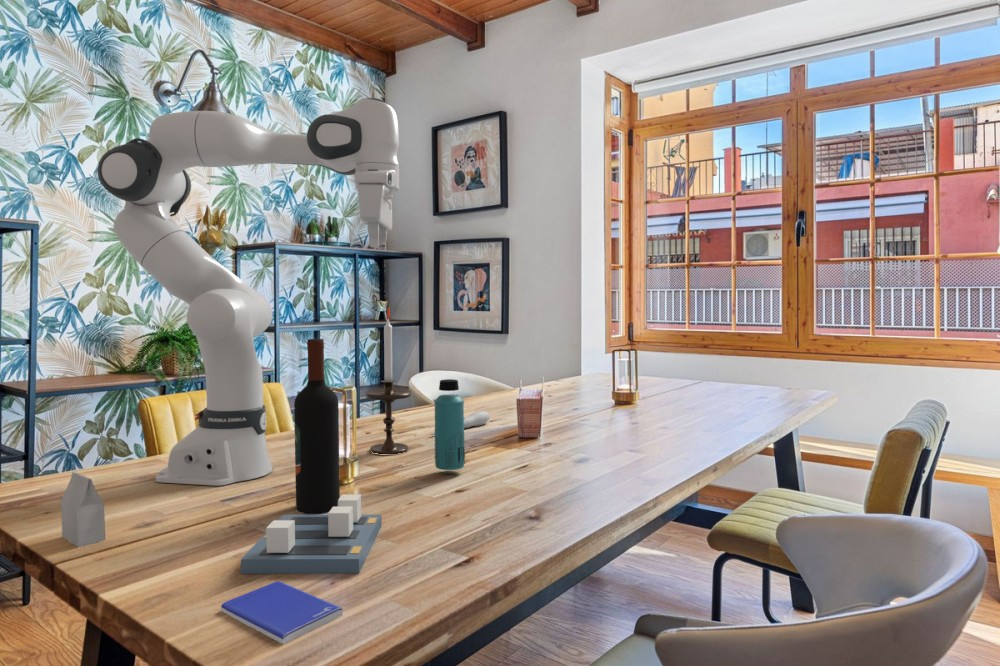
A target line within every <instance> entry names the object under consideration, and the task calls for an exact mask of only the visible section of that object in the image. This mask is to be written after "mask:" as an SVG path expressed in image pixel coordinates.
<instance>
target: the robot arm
mask: <svg viewBox="0 0 1000 666" xmlns="http://www.w3.org/2000/svg"><path fill="white" fill-rule="evenodd" d="M148 131H149V132H148V139H147V140H146V139H144V138H143V139H142V138H141V137H137V138H133V139H131V140H129V141H128V142H126V143H124V144H120V145H118V146H117V145H116V146H115V147H113V148H110V149H108V150H107V151H106V152H105V153H104V154H103V155H102V156H100V157H101V158H100V159H99V160H98V164H97V169H96V170H97V171H96V172H97V176H98V179H99V182H100V184H101V185H102V186H103V188H104V189H105V190H106V191H107V192H108V193H110V194H111V195H113V196H114V197H115V198H117V199H119V200H122V201H124V202H125V204H124V207H123V209H122V210H121V211H120V212H119V213H117V215H116V217H115V219H114V221H113V231H114V235H115V236H116V237H117V239H118V240H119V242H120V243H121V244H122V246H123V247H124V249H126V251H127V252H128V253H129V255H130V256H132V257H133V259H134V260H135V261H136V262H137V264H139V265H140V266H141V267H142V268H143V269H144V270H145V271H146V272H147V273H148V274H149V275H150V276H152V278H153V279H155V280H156V281H157V283H159V284H160V286H162V287H163V288H164V289H165V290H166V291H167V292H168V293H169V294H170V295H172V296H174V297H175V298H177V299H179V300H181V301H182V302H184V303H186V304H188V305H189V306H188V309H187V311H186V312H187V313H186V321H187V325H188V327H189V329H190V330H191V332H192V333H193V335H195V337H196V340H197V343H198V347H199V350H200V353H201V354H200V355H201V358H202V362H203V366H204V373H205V393H206V397H205V398H206V407H205V408H204V409H202V410H200V411H199V412H197V413H195V414H194V417H195V418H194V420H195V421H198V426H197V427H196V428H195V429H193V430H192V431H191V432H189V433H188V434H187V435H185V436H184V437H183V438H182V439H181V440H179V441H178V442H176V443H175V445H173V447H172V448H171V450H170V451H169V455H168V460H167V461H168V462H167V467H165V468H163V469H161V470H160V471H159V472H157V473H156V475H155V482H157V483H166V484H167V483H168V484H184V485H202V486H214V487H215V486H217V487H218V486H219V487H221V486H226V485H229V484H233V483H237V482H243V481H249V480H253V479H258V478H260V477H261V478H262V477H263V476H266V475H268V474H271V473H272V472H273V469H274V468H273V466H272V463H271V460H270V455H269V451H268V447H267V446H268V445H267V438H266V430H267V413H266V412H267V411H266V405H265V404H264V380H263V379H264V378H263V368H262V366H261V363H260V362H259V360H258V357H257V351H256V347H255V344H254V339H255V338H257V337H258V336H260V335H261V334H263V333H264V332H265V331H266V330H267V329H268V327H269V326H270V325H271V323H272V321H273V313H274V312H273V307H272V305H271V303H270V301H269V300H268V299H267V298H266V297H265V296H263V295H262V294H260V293H259V292H257V291H256V290H255V289H254V288H252V286H250V285H249V284H248V283H246V282H245V281H244V280H242V279H241V278H240V277H239V276H237V275H236V274H234V273H233V272H232V271H230V270H229V269H228V268H227V267H225V266H224V265H223V264H221V263H220V262H218V261H217V260H216V259H214V258H213V257H212V255H211V254H209V253H208V252H207V251H206V250H205V249H204V248H203V247H201V246H200V245H199V243H197V242H196V240H194V239H193V238H192V237H191V236H190V235H189V234H188V233H187V232H186V231H185V230H184V229H183V228H182V227H181V226H180V225H178V224H177V223H176V221H174V219H173V218H172V217H174V216H176V215H177V214H178V213H179V212H180V209H181V207H182V205H183V204H184V203H186V201H187V199H189V195H190V194H191V190H192V182H191V178H190V176H189V173H188V172H187V171H186V170H187V169H189V168H194V167H199V168H200V167H201V168H203V167H204V168H206V167H208V168H225V167H226V168H227V167H228V168H229V167H241V166H252V165H268V164H280V165H282V164H283V165H304V166H317V167H323V168H326V169H328V170H331V171H333V172H335V173H337V174H340V175H343V176H351V175H354V183H355V190H357V194H358V195H357V196H358V207H359V215H360V218H361V222H363V223H365V224H367V234H368V240H369V241H368V243H369V244H368V245H369V247H370V248H375V249H376V250H377V251H379V252H380V251H381V252H384V251H387V250H386V249H387V238H388V231H389V232H390V231H392V230H393V204H392V203H393V202H392V199H394V193H395V192H399V191H400V164H399V160H398V151H399V147H400V135H399V134H400V131H399V121H398V115H397V113H396V110H395V109H394V108H393V107H392V105H390V104H389V103H387V102H385V101H383V100H381V99H377V98H371V97H370V98H369V97H367V98H361V99H359V100H357V101H356V102H355V103H354V104H353V105H351V106H349V107H347V108H345V109H343V110H340V111H338V112H334V113H329V114H322V115H319V116H317V117H316V118H315V119H313V120H312V122H311V123H310V124H309V126H308V128H307V131H306V134H292V133H291V134H290V133H281V132H277V131H274V130H270V129H267V128H265V127H263V126H261V125H258V124H256V123H254V122H253V121H250V120H249V119H247V118H244V117H243V116H240V115H237V114H232V113H228V112H223V111H216V110H189V111H188V110H187V111H179V112H174V113H173V112H172V113H167V114H162V115H159V116H157V117H156V118H155V119H153V121H152V122H151V124H150V126H149V129H148Z"/></svg>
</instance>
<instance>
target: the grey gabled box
mask: <svg viewBox="0 0 1000 666" xmlns="http://www.w3.org/2000/svg"><path fill="white" fill-rule="evenodd" d="M60 507H61V508H60V509H61V534H62V537H61V538H63V539H64V538H65V539H64V540H66V539H67V540H68V541H67V540H66V541H67V542H69V541H70V542H71V543H70V542H69V543H70V544H72V543H73V544H74V545H73V544H72V545H73V546H75V545H76V546H77V548H78V547H80V548H82V547H81V546H83V547H86V546H85V545H87V546H90V545H89V544H91V545H94V544H93V543H95V544H97V543H96V542H98V543H101V542H100V541H102V542H104V541H103V540H105V541H106V522H105V520H106V519H105V502H104V501H103V499H102V498H101V496H100V495H99V493H98V491H97V490H96V488H95V485H94V484H93V480H92V478H90V477H88V476H86V475H83V474H81V473H79V472H76V471H72V472H71V477H70V480H69V482H68V485H67V487H66V489H65V491H64V493H63V495H62V497H61V499H60ZM76 546H75V547H76Z"/></svg>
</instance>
